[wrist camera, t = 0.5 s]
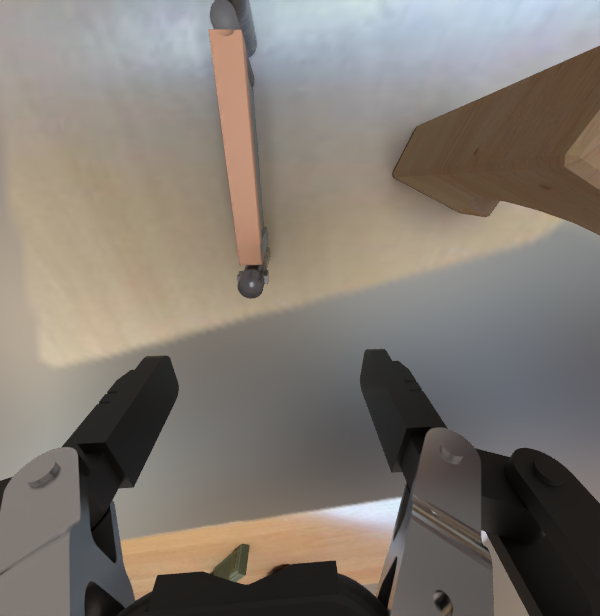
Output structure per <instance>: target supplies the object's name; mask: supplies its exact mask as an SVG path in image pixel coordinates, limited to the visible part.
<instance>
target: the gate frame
mask: <svg viewBox="0 0 600 616" xmlns="http://www.w3.org/2000/svg"><path fill="white" fill-rule="evenodd" d="M215 1H216V0H215ZM228 1H229V2H230V3H231V4H232V5H233V7H234V9H235V11H236V14H237V18H238V22H239V25H240V29H241V30H242V34H243V37H244V41H245V46H246V50H247V54H248V57H250V56H252V55H253V53H254V52H255V49H256V45H257V40H256V34H255V29H254V24H253V18H252V13H251V8H250V3H249V0H228ZM269 257H270V249H269V248H268V247H267V249H266V252H265V256H264V259H263V263H262V265H246V267H245V269H244V271H240V272H239V274H238V276H237V280H238V290H239V292H240V293H241V295H243V296H244V297H246V298H256V297H258V296H259V295H260V294H261V293H262V291H263V287H264V284H268V281H269V272H268V270H267V267H268V262H269Z"/></svg>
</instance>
